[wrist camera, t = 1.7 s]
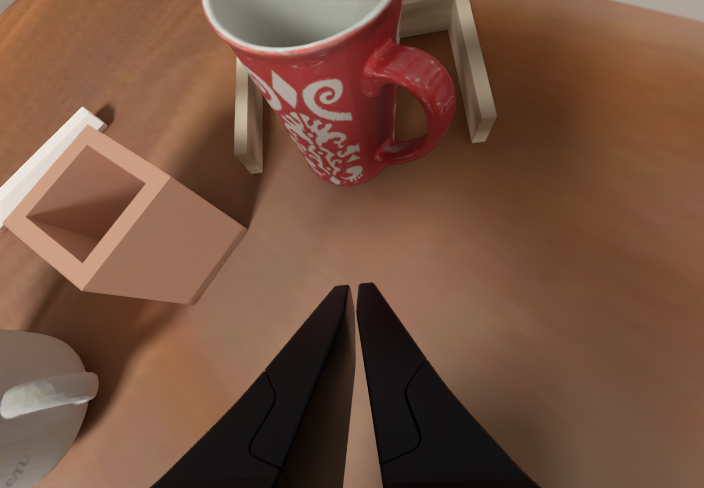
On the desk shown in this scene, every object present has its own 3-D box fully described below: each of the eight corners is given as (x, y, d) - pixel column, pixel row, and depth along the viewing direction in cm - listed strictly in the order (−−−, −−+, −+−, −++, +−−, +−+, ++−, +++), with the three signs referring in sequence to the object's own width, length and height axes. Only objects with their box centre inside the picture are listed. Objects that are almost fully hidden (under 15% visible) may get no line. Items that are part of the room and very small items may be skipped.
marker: (-12, 253, 29) (109, 125, 31) (-17, 262, 28) (111, 128, 30) (-51, 238, 27) (80, 104, 29) (-59, 247, 26) (79, 105, 28)
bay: (485, 141, 24) (497, 116, 21) (251, 174, 26) (233, 155, 23) (457, 19, 28) (464, -17, 25) (252, 56, 30) (237, 26, 27)
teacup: (-31, 486, 23) (-249, 566, 15) (5, 330, 26) (-162, 330, 18) (146, 484, 21) (5, 571, 13) (163, 318, 24) (54, 312, 16)
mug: (273, 153, 27) (159, -13, 14) (346, 82, 28) (304, -136, 15) (383, 249, 23) (369, 147, 10) (463, 164, 24) (542, -27, 11)
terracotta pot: (194, 305, 24) (81, 290, 15) (133, 259, 26) (1, 223, 17) (248, 229, 25) (170, 176, 16) (186, 190, 27) (87, 124, 18)
